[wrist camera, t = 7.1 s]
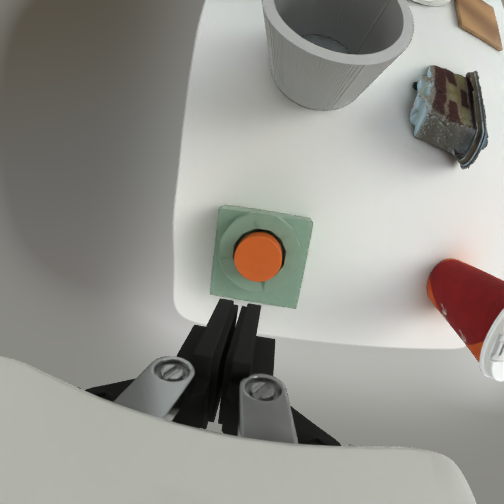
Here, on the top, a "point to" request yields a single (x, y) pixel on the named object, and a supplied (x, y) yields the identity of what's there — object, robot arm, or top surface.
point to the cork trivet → (479, 21)
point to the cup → (327, 61)
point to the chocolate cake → (450, 113)
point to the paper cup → (472, 310)
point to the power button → (258, 257)
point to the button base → (292, 245)
